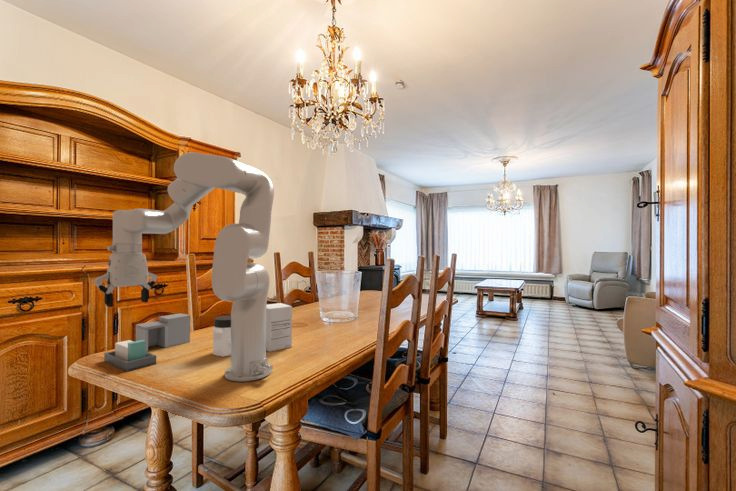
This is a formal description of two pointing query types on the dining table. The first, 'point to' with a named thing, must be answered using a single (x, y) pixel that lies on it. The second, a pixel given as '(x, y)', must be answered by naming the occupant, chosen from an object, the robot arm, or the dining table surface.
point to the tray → (130, 365)
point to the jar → (222, 336)
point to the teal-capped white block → (130, 350)
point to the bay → (165, 331)
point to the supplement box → (278, 326)
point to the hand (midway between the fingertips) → (127, 304)
